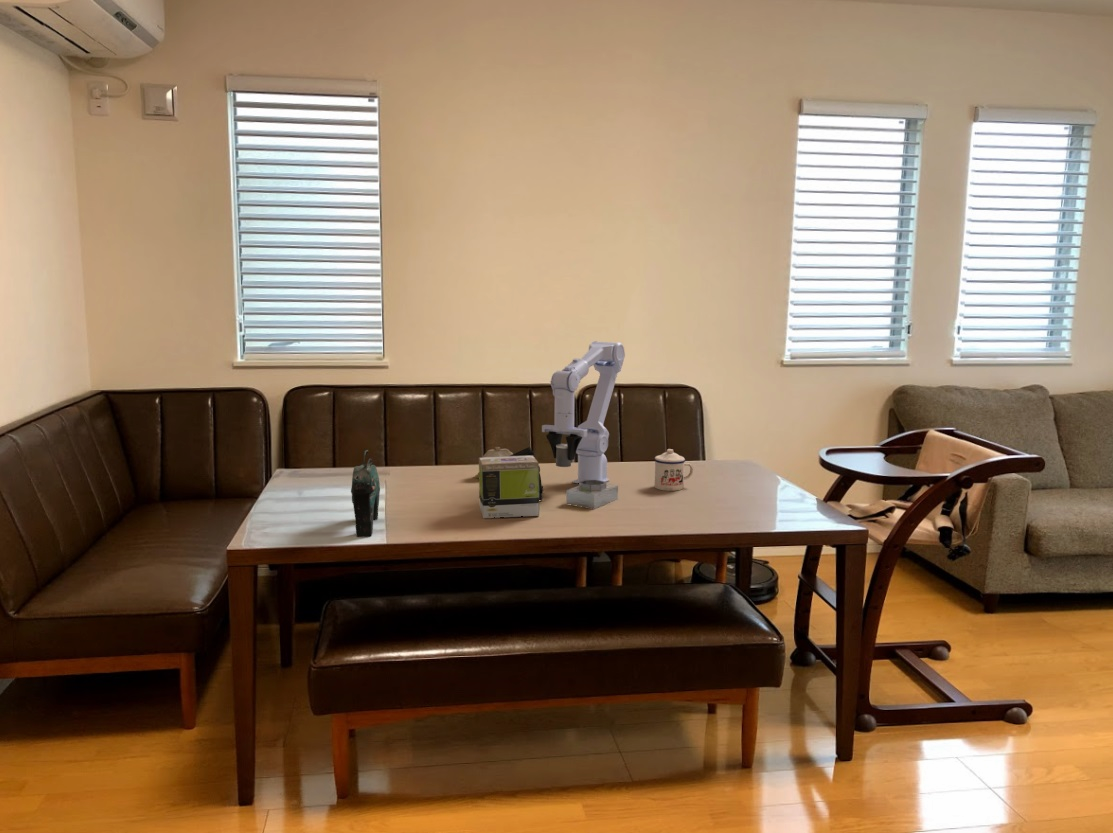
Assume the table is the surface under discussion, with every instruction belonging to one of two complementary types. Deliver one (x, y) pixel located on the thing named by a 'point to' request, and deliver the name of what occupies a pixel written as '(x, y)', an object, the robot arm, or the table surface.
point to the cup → (562, 456)
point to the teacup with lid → (670, 471)
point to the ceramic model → (496, 454)
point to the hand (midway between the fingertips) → (563, 458)
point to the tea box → (509, 486)
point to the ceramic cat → (365, 497)
